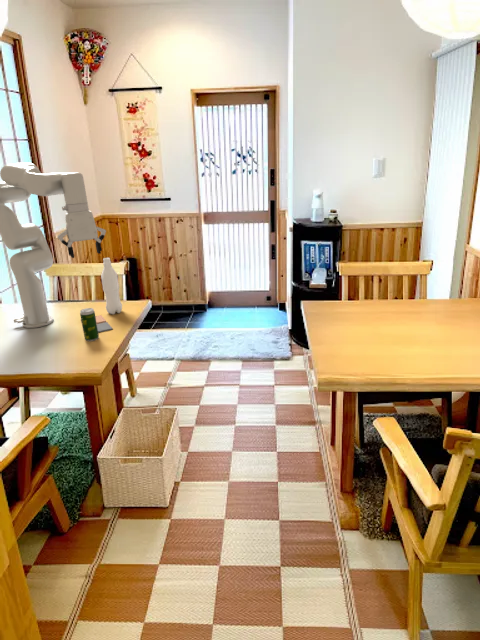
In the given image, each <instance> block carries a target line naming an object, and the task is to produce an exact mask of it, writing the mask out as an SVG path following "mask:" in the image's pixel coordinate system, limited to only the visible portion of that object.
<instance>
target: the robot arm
mask: <svg viewBox="0 0 480 640" xmlns="http://www.w3.org/2000/svg"><path fill="white" fill-rule="evenodd" d="M0 178H1V181H0V236H1V238H2V241H3V243H4V244H5V246H6V248H7V249H8V250H11V251H18V250H21V249H26V248H31V249H28V250H24V251H23V250H22V251H20V252H16V253H13V255H12V256H11V257H10V258H9V267H10V269H11V271H12V273H13V275H14V278H15V281H16V284H17V289H18V293H19V298H20V302H21V306H22V310H23V314H22V315H21V316H20V317H14V318H13V319H12V320H13V323H17V324H21V323H22V327H23V328H26V329H34V328H40V327H45V326H47V325H50V324H52V323H53V322H54V317H53V316H50V315H49V311H48V305H47V301H46V296H45V292H44V286H43V282H42V281H41V279H40V278H39V277H38V276H37V275H36V273H37V272H41V271H45V270H48V269H50V268H51V267H52V266H53V264H54V256H53V254H52V252H51V250H50V247H49V245H48V242H47V240H46V237H45V235H44V233H43V230H42V229H41V228H40V227H39V226H38V225H36V223H35V224H34V223H25V224H24V223H23V224H21V223H20V221H19V219H18V217H17V214H16V213H15V212H14V211H13V210H12V209H11V208H10V207H8V206H7V205H5V204H9V203H10V204H11V203H17V202H25V201H27V199H28V200H29V198H30V197H31V195H35V196H41V197H50V196H56V195H57V196H58V195H63V196H64V202H65V205H64V206H61V209H62V211H64V212H66V213H65V227H66V228H65V230H64V231H62V232H61V233H59V234H58V235H57V239H58V240H59V241H60V242H61V244H63V245H64V246H66V247H67V252H68V256H69V257H71V258H72V259H74V258H75V253H74V247H73V246H72V245H73V243H74V242H82V241H83V242H84V241H89V240H94V241H95V243H94V244H95V248H96V253H97V254H98V255H101V254H102V253H101V252H102V251H103V248H102V244H101V243H102V241H103V240H104V238H105V236H106V233H107V230H106V229H104V228H101V227H99V226H97V225H96V221H95V217H94V215H93V211H91V210H90V209H89V204H88V198H87V197H88V196H87V192H86V186H85V180H84V176H83V174H82V173H81V172H78V171H74V172H63V171H62V172H61V171H60V172H49V173H42V171H40V169H39V167H38V166H37V165H36V164H34V163H32V162H16V163H13V162H12V163H8V164H5V165H3V167H1V169H0ZM98 232H100V235H99V236H98ZM66 236H67V238H68V239H67V241H66V240H65V239H64V237H66Z"/></svg>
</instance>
